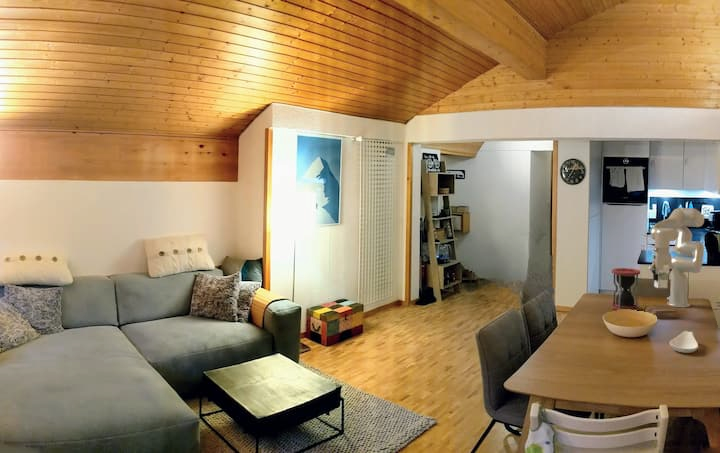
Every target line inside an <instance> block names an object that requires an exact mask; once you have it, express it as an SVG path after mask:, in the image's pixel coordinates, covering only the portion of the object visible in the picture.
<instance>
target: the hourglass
mask: <svg viewBox="0 0 720 453" xmlns="http://www.w3.org/2000/svg"><path fill="white" fill-rule="evenodd" d="M611 273H612V274H613V285H614V286H615V290H614V291H613V293H612V295H613V296H612V303H611V305H610V309H612V310H613V309H615V310H614V311H617V310H618V309H631V310H639V311H640V306H639V304H638V303H639V301H638V300H639V297H638V295H637V293H636V290H637V288H638V287H639V275H640V274H641V271H640V269H635V268H626V267H625V268H623V267H619V268H618V267H616V268H612V269H611ZM634 283H635V286H634V287H633V290H632V286H633V285H634ZM618 290H619V293H617V292H618ZM616 293H617V295H616ZM634 296H635V297H634Z"/></svg>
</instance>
